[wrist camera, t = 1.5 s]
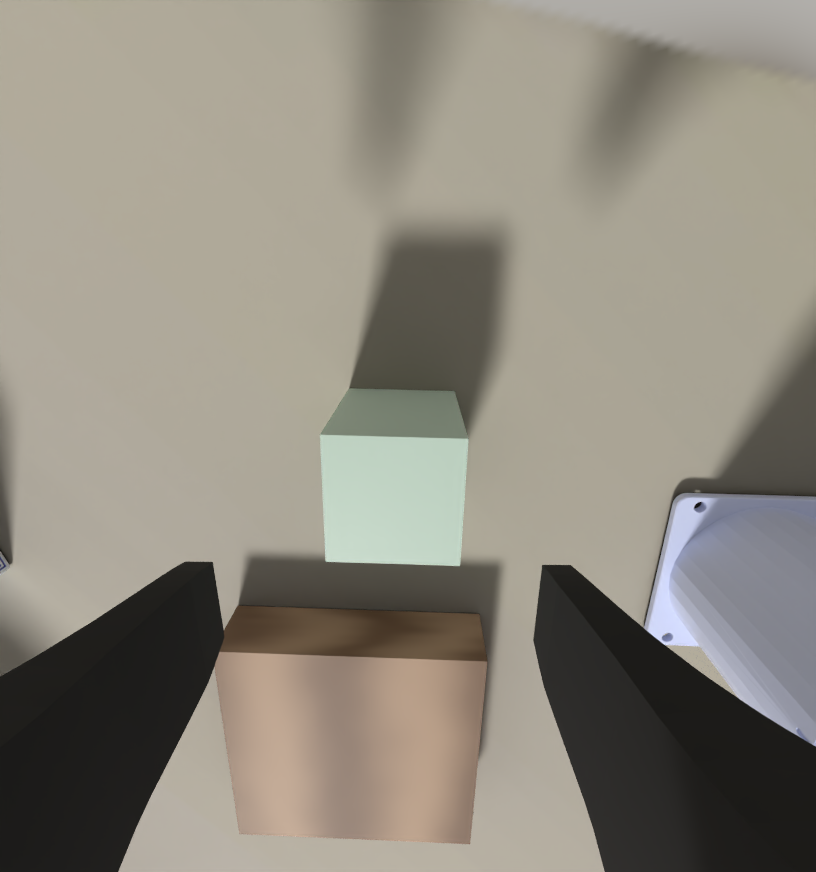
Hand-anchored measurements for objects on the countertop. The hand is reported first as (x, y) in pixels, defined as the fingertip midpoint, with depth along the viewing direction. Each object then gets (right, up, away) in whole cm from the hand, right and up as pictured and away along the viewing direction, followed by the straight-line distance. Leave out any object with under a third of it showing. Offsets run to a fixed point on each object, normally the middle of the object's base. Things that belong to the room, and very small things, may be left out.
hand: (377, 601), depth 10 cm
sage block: (0, +3, +10) cm, 11 cm away
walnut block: (-2, -11, +15) cm, 18 cm away
